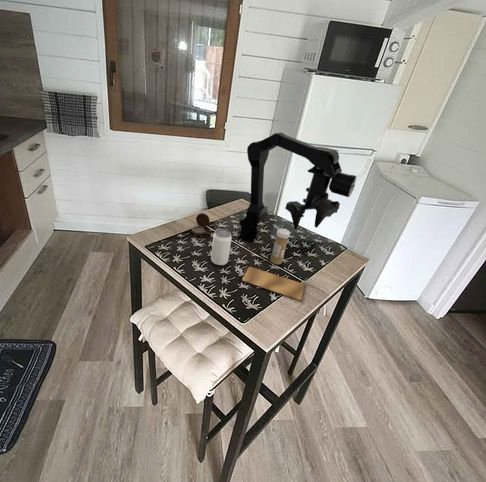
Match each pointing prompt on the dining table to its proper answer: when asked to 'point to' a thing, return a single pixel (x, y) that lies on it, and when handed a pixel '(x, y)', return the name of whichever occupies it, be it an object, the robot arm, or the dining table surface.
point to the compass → (201, 224)
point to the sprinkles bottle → (279, 246)
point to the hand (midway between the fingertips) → (305, 228)
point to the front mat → (274, 283)
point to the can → (221, 247)
